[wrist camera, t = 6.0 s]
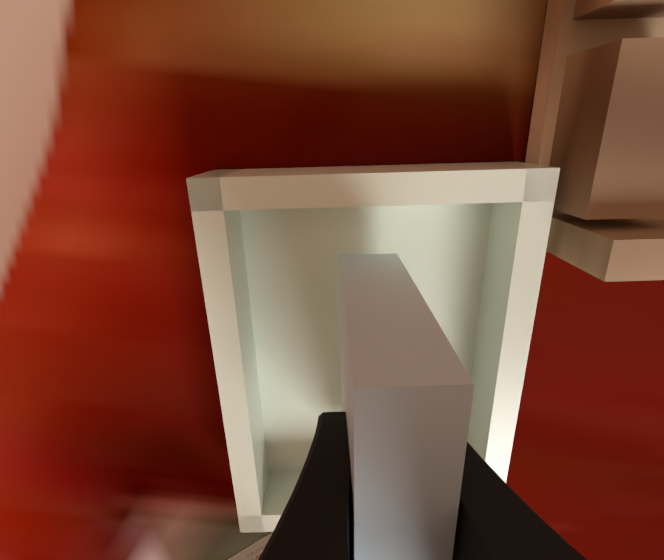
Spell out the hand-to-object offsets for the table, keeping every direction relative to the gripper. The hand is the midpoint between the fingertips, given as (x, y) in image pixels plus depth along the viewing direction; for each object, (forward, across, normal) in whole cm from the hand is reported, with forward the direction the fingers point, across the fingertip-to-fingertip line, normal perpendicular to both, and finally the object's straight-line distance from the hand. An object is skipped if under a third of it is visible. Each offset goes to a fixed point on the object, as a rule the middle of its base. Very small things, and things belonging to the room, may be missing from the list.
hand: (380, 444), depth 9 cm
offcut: (+4, -6, -7) cm, 10 cm away
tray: (+5, 0, 0) cm, 5 cm away
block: (+3, 0, 0) cm, 3 cm away
